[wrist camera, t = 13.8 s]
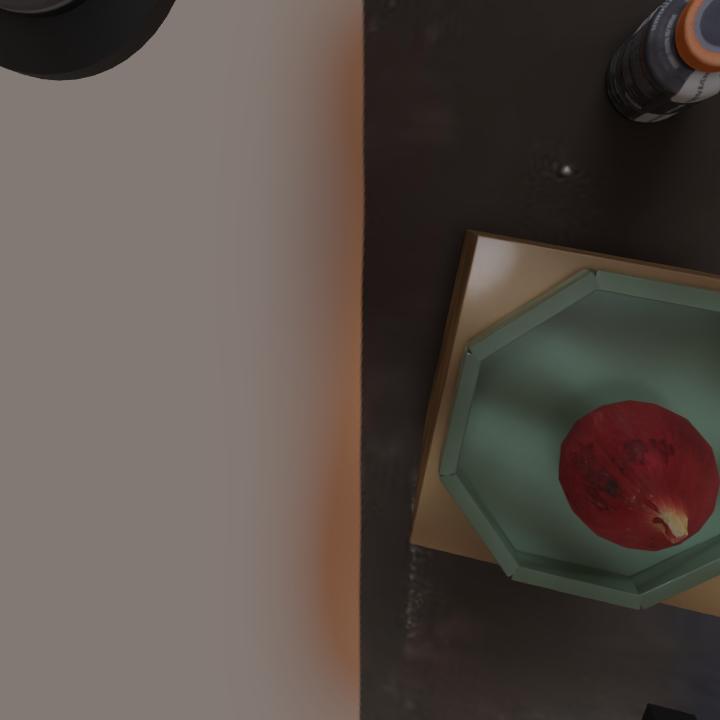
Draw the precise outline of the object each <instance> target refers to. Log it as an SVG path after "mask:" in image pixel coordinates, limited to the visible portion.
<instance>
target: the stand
mask: <svg viewBox="0 0 720 720" xmlns="http://www.w3.org/2000/svg"><path fill="white" fill-rule="evenodd" d="M627 400H633V401H640V402H647V403H654V404H657V405H659V406H661V407H663V408H666V409H668V410H670V411H672V412H674V413H676V414H678V415H680V416H682V417H684V418H686V419H688V420H689V421H690V423H691V424H692V425H693V426H694V427H695V428H696V429H697V431H698V432H699V433H700V434H701V435H702V436H703V438H704V439H705V440H706V441H707V442H708V443H709V445H710V446H711V447H712V449H713V453H714V457H715V461H716V465H717V469H718V473H719V478H720V276H719V275H714V274H709V273H705V272H700V271H695V270H690V269H685V268H680V267H674V266H669V265H663V264H658V263H652V262H647V261H641V260H635V259H630V258H624V257H619V256H613V255H608V254H602V253H597V252H591V251H586V250H580V249H575V248H569V247H564V246H558V245H553V244H547V243H542V242H536V241H530V240H525V239H519V238H514V237H508V236H503V235H497V234H492V233H486V232H481V231H475V230H470V229H466V233H465V238H464V242H463V247H462V251H461V256H460V261H459V265H458V270H457V275H456V279H455V284H454V289H453V293H452V298H451V302H450V307H449V312H448V316H447V321H446V326H445V330H444V335H443V340H442V344H441V349H440V353H439V358H438V363H437V367H436V372H435V377H434V381H433V386H432V391H431V395H430V400H429V404H428V409H427V414H426V418H425V423H424V429H423V437H422V445H421V454H420V462H419V470H418V478H417V486H416V494H415V503H414V511H413V519H412V527H411V535H410V543H411V544H415V545H419V546H423V547H428V548H432V549H436V550H440V551H444V552H449V553H453V554H457V555H461V556H466V557H470V558H474V559H478V560H482V561H487V562H491V563H495V564H499V565H500V567H501V568H502V570H503V571H504V572H505V574H506V575H507V576H508V577H509V576H511V579H512V580H515V581H519V582H523V583H527V584H531V585H536V586H540V587H544V588H548V589H552V590H556V591H561V592H565V593H569V594H573V595H577V596H581V597H586V598H590V599H594V600H598V601H602V602H606V603H611V604H615V605H619V606H623V607H627V608H631V609H636V610H639V608H640V606H641V607H642V608H643V609H646V608H648V607H650V606H653V605H655V604H657V603H663V604H668V605H672V606H676V607H680V608H684V609H689V610H693V611H697V612H701V613H705V614H710V615H714V616H718V617H720V486H719V491H718V496H717V500H716V505H715V509H714V511H713V513H712V515H711V516H710V517H709V519H708V520H707V521H706V523H705V524H704V525H703V527H702V528H701V529H700V531H699V532H697V533H696V534H694V535H693V536H692V537H690V538H689V539H687V540H686V541H684V542H683V543H681V544H680V545H676V546H673V547H669V548H666V549H662V550H659V551H646V550H637V549H629V548H625V547H622V546H620V545H617V544H615V543H613V542H611V541H608V540H606V539H604V538H601V537H599V536H597V535H596V534H595V533H594V532H593V531H591V530H590V529H589V528H588V527H587V526H586V525H585V524H584V522H583V521H582V520H581V519H580V518H579V517H578V516H577V515H576V514H575V513H574V512H573V511H572V509H571V507H570V505H569V503H568V501H567V499H566V496H565V494H564V491H563V489H562V486H561V484H560V482H559V479H558V477H559V461H560V450H561V443H562V442H563V440H564V439H565V437H566V436H567V434H568V433H569V431H570V430H571V428H572V427H573V425H574V424H575V422H576V421H577V420H579V419H580V418H582V417H584V416H585V415H587V414H588V413H590V412H592V411H593V410H595V409H597V408H598V407H600V406H602V405H607V404H612V403H617V402H622V401H627Z"/></svg>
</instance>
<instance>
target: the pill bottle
mask: <svg viewBox="0 0 720 720" xmlns="http://www.w3.org/2000/svg"><path fill="white" fill-rule="evenodd" d="M607 89H608V94H609V98H610V99H611V101H612V103H613V105H614V106H615V108H616V109H617V110H618V111H619V112H620V113H621V114H622V115H624V116H625V117H627V118H629V119H631V120H634V121H638V122H656V121H660V120H663V119H666V118H669V117H671V116H673V115H675V114H677V113H679V112H681V111H683V110H685V109H687V108H689V107H691V106H693V105H695V104H697V103H700V102H702V101H704V100H706V99H708V98H710V97H712V96H715V95H717V94H718V93H720V0H666V1H665V2H664V3H663V4H662V5H660V6H659V7H658V8H657V9H656V10H655V11H654V12H653V13H652V14H651V15H650V16H649V17H648V18H647V19H646V20H645V21H644V22H643V23H642V24H641V25H640V26H639V27H638V29H637V30H636V31H635V32H634V33H633V34H632V35H631V36H630V37H629V38H628V39H627V40H626V41H625V42H624V43H623V44H622V45H621V47H620V48H619V49H618V50H617V52H616V53H615V55H614V57H613V58H612V60H611V63H610V66H609V70H608V74H607Z"/></svg>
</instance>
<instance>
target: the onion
mask: <svg viewBox="0 0 720 720" xmlns="http://www.w3.org/2000/svg"><path fill="white" fill-rule="evenodd" d="M558 479H559V482H560V484H561V486H562V489H563V491H564V494H565V496H566V499H567V501H568V503H569V505H570V507H571V509H572V511H573V512H574V513H575V514H576V515H577V516H578V517H579V518H580V519H581V520H582V521H583V522H584V524H585V525H586V526H587V527H588V528H589V529H590V530H591V531H593V532H594V533H595V534H596V535H597V536H599V537H601V538H604V539H606V540H608V541H611V542H613V543H615V544H617V545H620V546H622V547H625V548H629V549H637V550H646V551H659V550H662V549H666V548H669V547H673V546H676V545H680V544H681V543H683V542H684V541H686V540H687V539H689V538H690V537H692V536H693V535H694V534H696V533H697V532H699V531H700V529H701V528H702V527H703V525H704V524H705V523H706V521H707V520H708V519H709V517H710V516H711V515H712V513H713V511H714V509H715V505H716V500H717V496H718V491H719V486H720V478H719V473H718V469H717V465H716V461H715V457H714V453H713V449H712V447H711V446H710V445H709V443H708V442H707V441H706V440H705V439H704V438H703V436H702V435H701V434H700V433H699V432H698V431H697V429H696V428H695V427H694V426H693V425H692V424H691V423H690V421H689V420H688V419H686V418H684V417H682V416H680V415H678V414H676V413H674V412H672V411H670V410H668V409H666V408H663V407H661V406H659V405H657V404H654V403H647V402H640V401H633V400H627V401H622V402H617V403H612V404H607V405H602V406H600V407H598V408H597V409H595V410H593V411H592V412H590V413H588V414H587V415H585V416H584V417H582V418H580V419H579V420H577V421H576V422H575V424H574V425H573V427H572V428H571V430H570V431H569V433H568V434H567V436H566V437H565V439H564V440H563V442H562V443H561V450H560V461H559V477H558Z"/></svg>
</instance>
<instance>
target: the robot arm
mask: <svg viewBox="0 0 720 720" xmlns="http://www.w3.org/2000/svg"><path fill="white" fill-rule="evenodd" d="M85 1H86V0H0V8H1V9H3V10H5V11H7V12H10V13H13V14H16V15H21V16H25V17H49V16H55V15H58V14H62V13H65V12H67V11H70V10H72V9H74V8H75V7H77V6H79V5H81V4H82V3H83V2H85ZM642 720H697V719H696V717H695V715H692V714H688V713H684V712H680V711H676V710H673V709H669V708H665V707H661V706H657V705H653V704H649V703H648V704H647V707H646V710H645V712H644V715H643V718H642Z"/></svg>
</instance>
